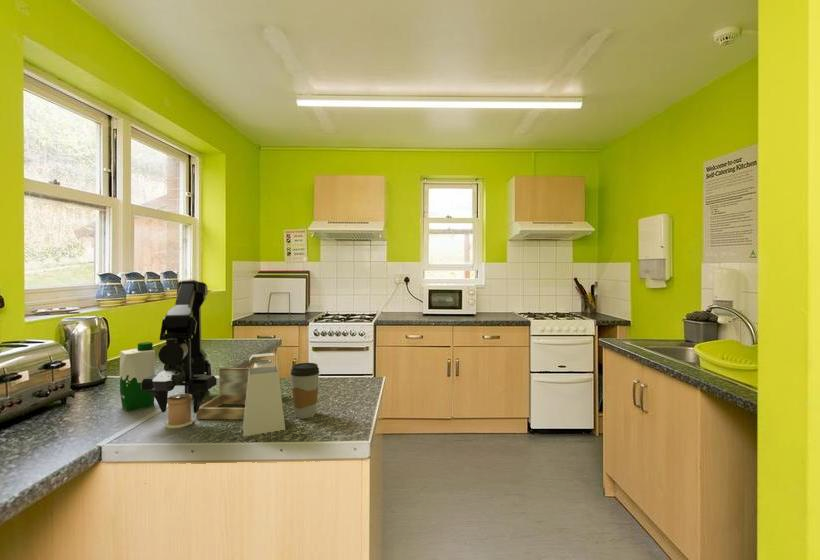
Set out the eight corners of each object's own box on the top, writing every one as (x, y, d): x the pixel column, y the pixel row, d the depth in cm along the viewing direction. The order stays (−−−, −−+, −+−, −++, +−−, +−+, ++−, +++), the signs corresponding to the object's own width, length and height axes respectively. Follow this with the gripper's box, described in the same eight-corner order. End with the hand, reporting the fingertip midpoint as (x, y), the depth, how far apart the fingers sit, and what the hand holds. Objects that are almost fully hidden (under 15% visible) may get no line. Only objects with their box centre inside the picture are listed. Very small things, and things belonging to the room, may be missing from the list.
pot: (161, 425, 109) (161, 399, 109) (175, 417, 115) (175, 393, 115) (183, 425, 108) (183, 400, 108) (196, 417, 115) (196, 393, 115)
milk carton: (158, 406, 127) (157, 344, 126) (124, 413, 120) (123, 347, 120) (150, 400, 133) (149, 340, 132) (117, 406, 126) (116, 344, 126)
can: (276, 393, 140) (276, 359, 140) (268, 399, 134) (268, 363, 133) (259, 392, 141) (259, 359, 141) (250, 398, 134) (250, 363, 134)
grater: (243, 422, 113) (242, 353, 112) (281, 417, 117) (281, 350, 116) (243, 436, 103) (243, 360, 103) (285, 430, 107) (285, 357, 107)
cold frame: (196, 418, 116) (196, 379, 115) (221, 402, 130) (220, 367, 129) (250, 419, 115) (250, 379, 115) (269, 403, 129) (268, 368, 129)
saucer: (159, 428, 108) (159, 426, 108) (175, 419, 115) (175, 417, 115) (184, 428, 108) (184, 426, 108) (198, 419, 115) (198, 417, 115)
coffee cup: (324, 412, 121) (324, 363, 121) (309, 421, 113) (309, 369, 113) (301, 409, 124) (301, 361, 124) (284, 418, 116) (284, 367, 116)
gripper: (125, 363, 104) (126, 422, 104) (195, 364, 103) (195, 423, 103) (154, 355, 115) (154, 408, 115) (217, 355, 114) (217, 409, 114)
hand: (179, 412), depth 112 cm, fingers open, 9 cm apart
